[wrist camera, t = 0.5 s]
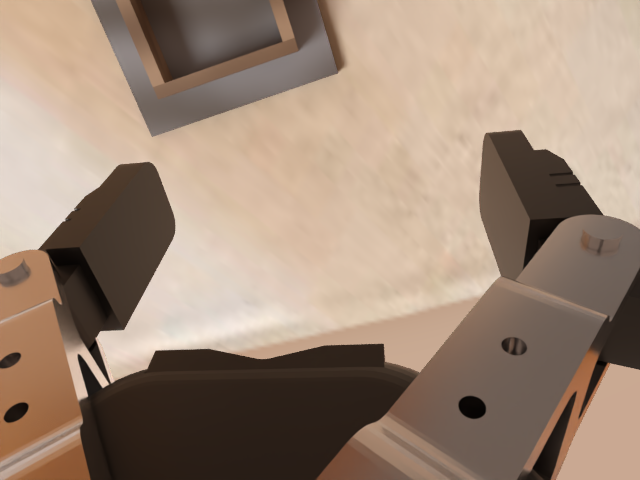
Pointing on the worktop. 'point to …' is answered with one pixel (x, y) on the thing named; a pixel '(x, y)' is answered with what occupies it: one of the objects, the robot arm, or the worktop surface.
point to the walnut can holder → (213, 53)
